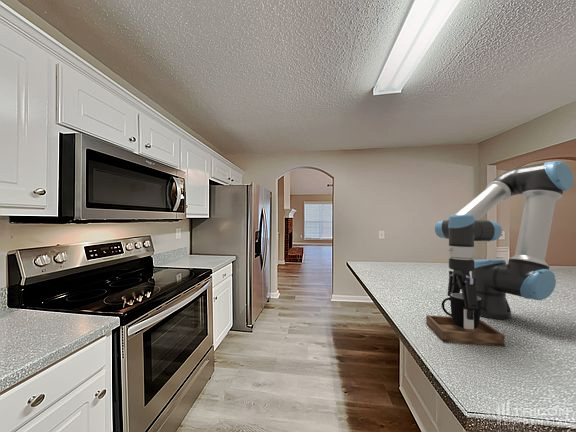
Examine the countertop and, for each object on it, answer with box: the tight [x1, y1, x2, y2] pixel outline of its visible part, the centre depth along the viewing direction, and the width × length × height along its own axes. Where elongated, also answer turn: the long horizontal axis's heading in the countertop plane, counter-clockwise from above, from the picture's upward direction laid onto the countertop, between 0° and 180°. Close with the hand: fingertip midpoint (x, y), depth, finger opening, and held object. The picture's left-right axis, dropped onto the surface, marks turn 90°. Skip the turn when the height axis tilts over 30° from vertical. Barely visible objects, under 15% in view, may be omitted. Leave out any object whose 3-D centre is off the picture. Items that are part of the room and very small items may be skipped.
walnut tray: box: [426, 315, 506, 347], centre depth 91 cm, size 18×15×3 cm
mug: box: [441, 292, 481, 329], centre depth 92 cm, size 12×9×10 cm
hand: (461, 323), depth 91 cm, fingers closed on mug, 9 cm apart
